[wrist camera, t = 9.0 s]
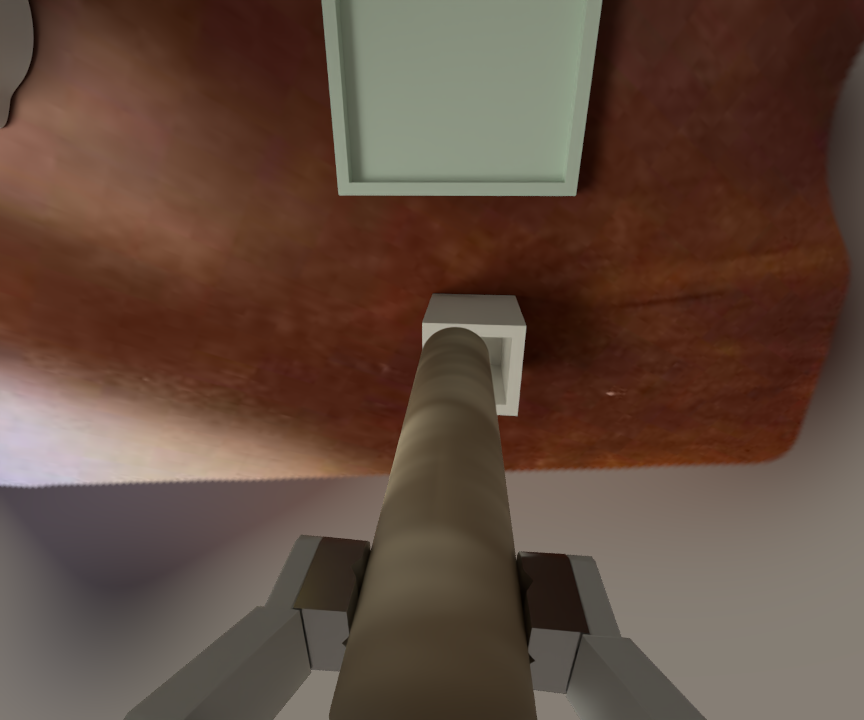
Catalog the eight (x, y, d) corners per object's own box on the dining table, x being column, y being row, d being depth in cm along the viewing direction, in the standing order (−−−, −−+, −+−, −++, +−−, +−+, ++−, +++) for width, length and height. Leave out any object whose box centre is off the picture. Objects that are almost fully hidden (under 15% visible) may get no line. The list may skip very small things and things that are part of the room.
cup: (432, 367, 43) (423, 411, 34) (432, 293, 39) (422, 322, 31) (508, 370, 42) (517, 415, 34) (515, 295, 39) (526, 325, 31)
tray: (345, 194, 36) (338, 195, 35) (326, -37, 30) (317, -51, 28) (570, 195, 35) (575, 195, 33) (602, -50, 28) (611, -66, 26)
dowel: (421, 387, 20) (338, 772, 7) (421, 325, 18) (318, 660, 6) (486, 390, 19) (526, 793, 7) (491, 328, 18) (553, 682, 5)
